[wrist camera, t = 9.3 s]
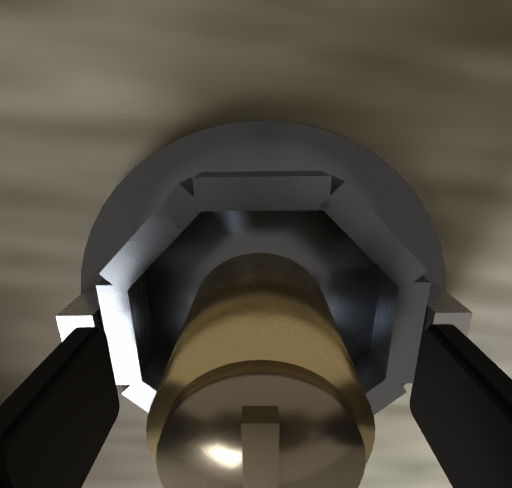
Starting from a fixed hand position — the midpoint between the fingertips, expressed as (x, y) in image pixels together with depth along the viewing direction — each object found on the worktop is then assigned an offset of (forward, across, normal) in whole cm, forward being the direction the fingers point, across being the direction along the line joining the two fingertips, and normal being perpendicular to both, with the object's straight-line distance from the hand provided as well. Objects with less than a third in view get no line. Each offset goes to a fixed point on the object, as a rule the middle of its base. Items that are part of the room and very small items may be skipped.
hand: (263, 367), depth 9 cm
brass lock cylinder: (+3, 0, 0) cm, 3 cm away
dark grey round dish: (+4, 0, 0) cm, 4 cm away
